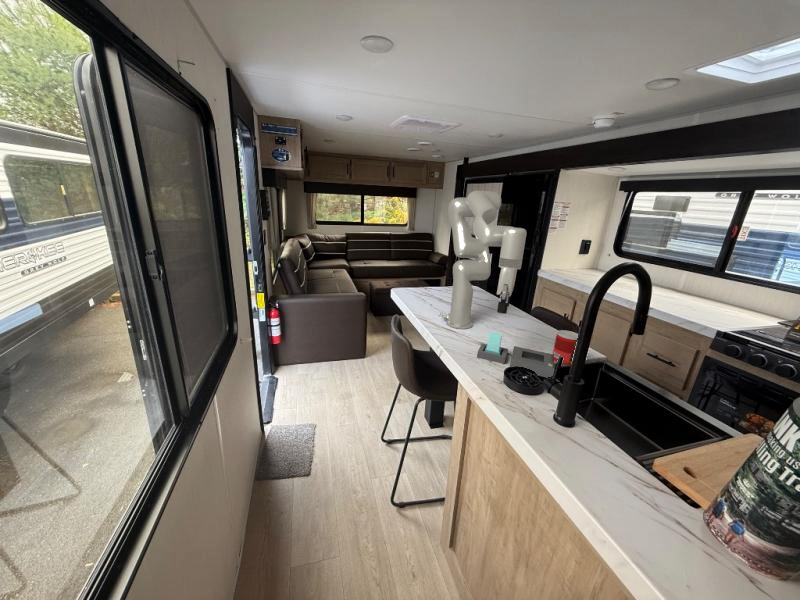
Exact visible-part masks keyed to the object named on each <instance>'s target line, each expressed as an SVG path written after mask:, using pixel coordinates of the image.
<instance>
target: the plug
mask: <svg viewBox="0 0 800 600" xmlns="http://www.w3.org/2000/svg"><path fill="white" fill-rule="evenodd" d="M502 337H503V334H502V333H497V332H492V331H490V332H489V334H488V338H487V343H486V344H487V347H486V349H485V352H489V353H494V354H498V355H500V354H501V348H500V347H501V345H502V344H501V343H502Z"/></svg>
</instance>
